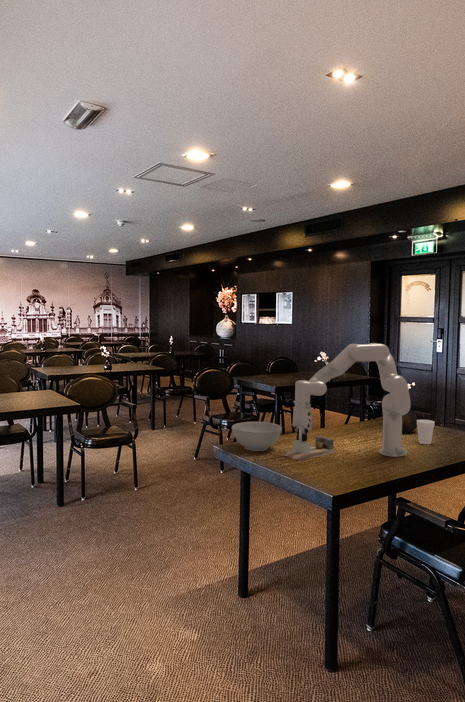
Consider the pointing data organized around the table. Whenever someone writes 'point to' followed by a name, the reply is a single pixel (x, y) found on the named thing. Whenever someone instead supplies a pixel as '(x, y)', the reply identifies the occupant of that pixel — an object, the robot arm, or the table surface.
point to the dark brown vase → (409, 422)
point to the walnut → (319, 445)
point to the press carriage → (301, 444)
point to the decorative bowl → (256, 434)
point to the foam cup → (425, 431)
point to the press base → (313, 450)
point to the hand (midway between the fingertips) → (301, 440)
